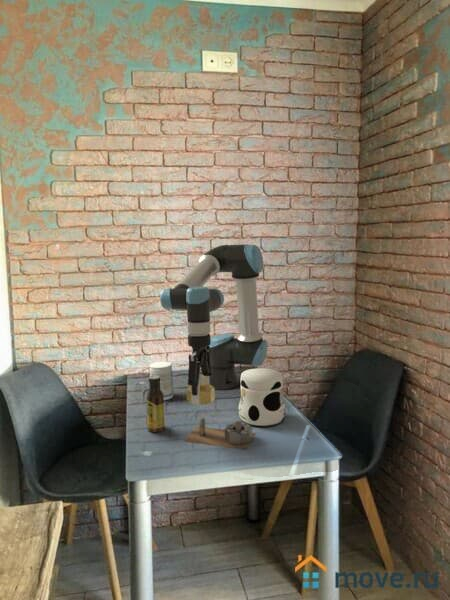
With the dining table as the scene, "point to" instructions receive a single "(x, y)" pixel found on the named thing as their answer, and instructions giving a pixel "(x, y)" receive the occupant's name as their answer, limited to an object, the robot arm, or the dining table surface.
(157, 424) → the sauce bottle
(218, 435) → the gear board
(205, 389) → the brass gear
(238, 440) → the steel gear
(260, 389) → the milk container
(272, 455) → the dining table surface
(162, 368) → the supplement tub
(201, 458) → the dining table surface
